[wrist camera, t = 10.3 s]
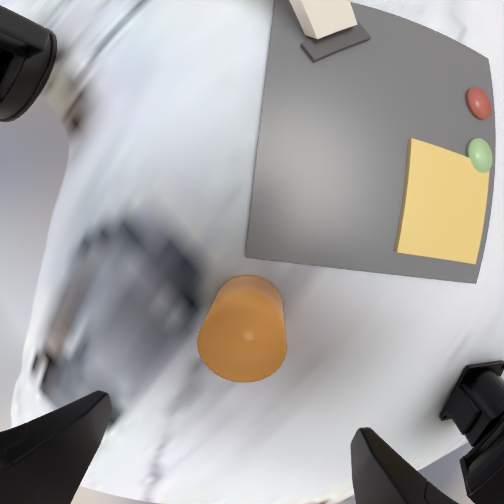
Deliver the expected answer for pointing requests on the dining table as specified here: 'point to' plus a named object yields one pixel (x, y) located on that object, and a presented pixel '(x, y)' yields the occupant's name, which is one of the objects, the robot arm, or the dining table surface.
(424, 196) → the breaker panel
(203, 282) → the dining table surface
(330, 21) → the lever
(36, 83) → the french press
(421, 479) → the robot arm
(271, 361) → the cap
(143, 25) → the dining table surface
